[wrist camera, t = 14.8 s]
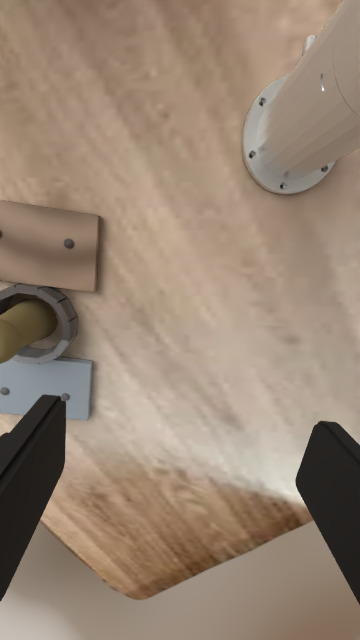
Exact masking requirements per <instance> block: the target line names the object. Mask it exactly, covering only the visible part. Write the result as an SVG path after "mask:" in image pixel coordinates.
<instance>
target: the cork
mask: <svg viewBox="0 0 360 640" xmlns="http://www.w3.org/2000/svg"><path fill="white" fill-rule="evenodd" d="M56 325H57V317H56V313H55V312H54V310H53V308H52V307H51V306H50V305H49V304H48V303H46V302H44V301H43V300H40V299H36V298H32V299H26V300H23V301H21V302H20V303H18V304H17V305H15V306H14V307H12V308H11V309H9V310H8V311H6V312H5V313H3V314H2V315H0V364H1V363H4V362H7V361H9V360H10V359H11V358H12V357H14V356H15V355H16V354H17V352H18V350H19V348H21V347H23V346H26V345H28V344H30V343H33V342H35V341H37V340H40V339H42V338H44V337H47V336H49V335H50V334H51V333H52V332H53V331H54V330H55V328H56Z"/></svg>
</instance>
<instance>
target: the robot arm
mask: <svg viewBox="0 0 360 640" xmlns="http://www.w3.org/2000/svg"><path fill="white" fill-rule="evenodd" d="M259 104H261V105H262V106H260V105H259ZM359 148H360V0H343V1H342V2H341V3H340V5H339V6H338V8H337V9H336V10H335V12H334V13H333V15H332V16H331V17H330V19H329V20H328V22H327V23H326V25H325V26H324V27H323V29H322V30H321V32H320V33H319V34H318V36H316V35H311V36H308V37H307V38H306V39H305V42H304V47H303V51H302V58H301V60H300V61H299V62H298V63H297V65H296V66H295V68H294V69H293V70H292V72H291V73H290V75H286V76H284V77H282V78H279V79H277V80H275V81H274V82H273V83H271V84H270V85H268V86H267V87H266V88H265V89H264V90H263V91H262V92H261V93H260V94H259V96H258V97H257V99H256V100H255V102H254V103H253V105H252V107H251V109H250V111H249V112H248V115H247V117H246V120H245V123H244V127H243V133H242V152H243V158H244V161H245V164H246V167H247V169H248V171H249V173H250V174H251V176H252V177H253V178H254V180H255V181H256V182H257V183H258V184H259V185H260V186H262V187H263V188H264V189H266V190H268V191H270V192H273V193H277V194H295V193H299V192H301V191H304V190H307V189H308V188H310V187H312V186H314V185H316V184H317V183H318V182H319V181H321V180H322V179H323V178H324V177H325V176H326V175H327V174H328V173H329V171H330V170H331V168H332V167H333V165H334V164H335V162H336V160H338V159H339V158H341V157H343V156H345V155H347V154H349V153H351V152H353V151H355V150H357V149H359ZM249 155H251V156H252V159H251V158H250V157H249ZM321 169H322V171H321ZM280 185H281V186H282V189H281V188H280ZM65 434H66V401H63V400H62V399H61V396H56V395H46V394H44V395H42V396H41V397H40V398H39V399H38V400H37V401H36V402H35V404H34V405H33V406H32V407H31V408H30V410H29V411H28V412H27V413H26V414H25V415H24V417H23V418H22V419H21V420H20V421H19V422H18V424H17V425H16V426H15V427H14V428H13V430H12V431H11V432H10V433H5V434H3V435H2V436H0V601H1V600H2V598H3V597H4V595H5V593H6V591H7V589H8V587H9V584H10V582H11V580H12V578H13V576H14V574H15V572H16V570H17V567H18V565H19V563H20V561H21V558H22V556H23V554H24V552H25V550H26V548H27V546H28V544H29V542H30V540H31V538H32V535H33V533H34V531H35V529H36V527H37V525H38V523H39V520H40V518H41V516H42V514H43V512H44V510H45V508H46V506H47V503H48V501H49V499H50V497H51V495H52V493H53V491H54V488H55V486H56V484H57V482H58V480H59V478H60V476H61V473H62V471H63V468H64V463H65ZM296 487H297V489H298V491H299V493H300V495H301V497H302V499H303V501H304V502H305V504H306V506H307V508H308V510H309V512H310V514H311V515H312V517H313V519H314V521H315V522H316V525H317V527H318V528H319V530H320V532H321V534H322V536H323V538H324V540H325V541H326V543H327V545H328V547H329V549H330V550H331V552H332V554H333V556H334V558H335V560H336V562H337V564H338V566H339V567H340V569H341V571H342V573H343V575H344V577H345V578H346V580H347V582H348V584H349V586H350V588H351V590H352V591H353V593H354V595H355V597H356V599H357V601H358V602H359V604H360V445H359V444H358V443H357V442H356V441H355V440H354V439H353V438H352V437H351V436H350V435H349V434H348V433H347V432H346V431H345V430H344V429H343V428H342V427H341V426H340V425H339V424H338V423H336V422H328V421H320V422H318V424H317V425H315V426H314V428H313V430H312V433H311V436H310V439H309V442H308V445H307V448H306V450H305V453H304V456H303V459H302V462H301V465H300V468H299V470H298V473H297V476H296Z"/></svg>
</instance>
